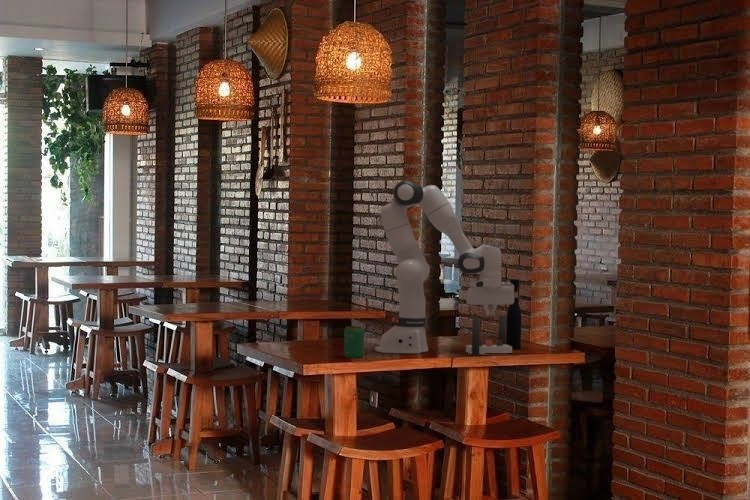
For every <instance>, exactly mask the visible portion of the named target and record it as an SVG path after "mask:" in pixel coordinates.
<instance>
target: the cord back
mask: <svg viewBox="0 0 750 500" xmlns="http://www.w3.org/2000/svg"><path fill="white" fill-rule="evenodd" d="M506 317H507V315H504V314H503V315H502V314H500V315H498V339H497V340H503V345H506Z"/></svg>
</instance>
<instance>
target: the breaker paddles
mask: <svg viewBox="0 0 750 500" xmlns="http://www.w3.org/2000/svg"><path fill="white" fill-rule="evenodd" d="M495 341H496V342H495V345H496V346H503V340H498V339H496V340H495ZM482 345H483V340H482V339H479V346H482ZM485 345H486V346H492V345H493V339H486V340H485Z"/></svg>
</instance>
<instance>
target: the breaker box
mask: <svg viewBox="0 0 750 500" xmlns="http://www.w3.org/2000/svg"><path fill="white" fill-rule="evenodd" d="M467 352H468V353H467ZM465 353H467V354H469V353H470V354H469V355H471V354H472V344H466V345H465ZM485 353H512V354H513V350H512V346H509V345H506V344H505V345H503V346H496V344H492V346H486V344H482V346H479V355H486V354H485Z"/></svg>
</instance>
